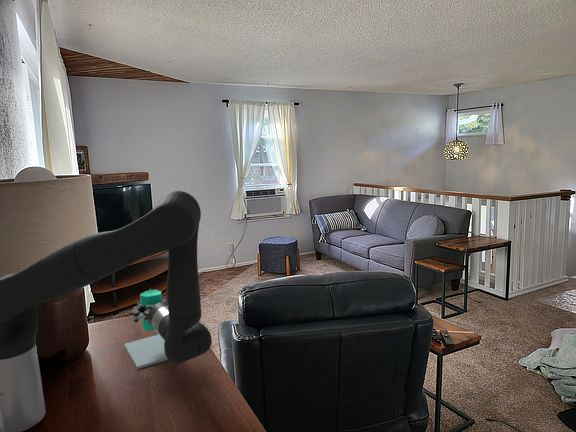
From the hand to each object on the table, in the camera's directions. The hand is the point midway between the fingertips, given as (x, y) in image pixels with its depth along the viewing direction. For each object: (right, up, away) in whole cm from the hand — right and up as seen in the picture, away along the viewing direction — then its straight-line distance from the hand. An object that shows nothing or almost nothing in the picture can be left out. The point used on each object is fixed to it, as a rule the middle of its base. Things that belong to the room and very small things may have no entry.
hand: (149, 301), depth 116 cm
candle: (+2, -7, -1) cm, 8 cm away
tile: (+2, -15, 0) cm, 15 cm away
